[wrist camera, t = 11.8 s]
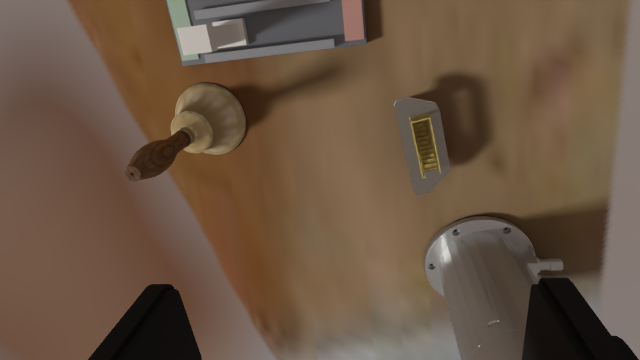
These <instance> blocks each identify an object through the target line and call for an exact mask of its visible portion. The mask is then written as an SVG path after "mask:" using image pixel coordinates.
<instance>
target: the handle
mask: <svg viewBox="0 0 640 360" xmlns="http://www.w3.org/2000/svg"><path fill="white" fill-rule="evenodd" d="M212 25H213V26H212ZM177 32H178V36H179V39H180V43H181V47H182V51H183V55H191V54H199V53H207V52H213V51H217V50H218V49H217V48H226V47H234V46H242V45H248V44H249V41H248V36H247V30H246V25H245V20H244V18H240V19H233V20H225V21H218V22H212V24H204V25H197V26H190V27H183V28H177Z"/></svg>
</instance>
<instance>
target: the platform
mask: <svg viewBox="0 0 640 360" xmlns="http://www.w3.org/2000/svg"><path fill="white" fill-rule="evenodd" d="M394 107H395V112H396V116H397V121H398V125H399V129H400V134H401V138H402V142H403V147H404V151H405V155H406V160H407V164H408V169H409V173H410V177H411V182H412V186H413V190H414V193H415V194H424V193H428V192H430V191H431V190H432V189H433V188H434V187H435V186H436V185H437V184H438V183H439V182H440V181H441V180H442V179H443V178H444V177H445V176H446V175H447V174H448V173H449V171H450V164H449V158H448V153H447V148H446V142H445V137H444V131H443V126H442V120H441V115H440V110H439V108H438V106H437V105H436V103H435V102H433V101H427V100H422V99H416V98H410V97H406V98H403V99H399V100H397V101H395V103H394ZM424 116H425V117H424ZM425 120H426V121H425ZM420 136H421V137H420ZM430 143H431V144H430ZM426 144H427V145H426ZM432 147H433V148H432ZM429 148H430V149H429ZM425 149H426V150H425ZM418 153H419V154H418ZM428 153H429V154H428ZM424 154H425V155H424ZM419 157H420V159H419ZM423 159H424V160H423ZM420 161H421V163H420ZM427 163H428V164H427ZM421 165H422V168H421Z"/></svg>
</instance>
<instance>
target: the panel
mask: <svg viewBox="0 0 640 360" xmlns="http://www.w3.org/2000/svg"><path fill="white" fill-rule="evenodd" d="M166 3H167V7H168V11H169V15H170V19H171V22H172V26H173V30H174V34H175V38H176V42H177V45H178V49H179V53H180V57H181V61H182V65H183V66H187V65H195V64H204V63H212V62H220V61H229V60H237V59H246V58H254V57H263V56H271V55H279V54H288V53H296V52H305V51H313V50H321V49H330V48H338V47H347V46H355V45H364V44H367V38H366V23H365V8H364V0H166ZM240 18H244V20H245V25H246V30H247V36H248V41H249V44H248V45H242V46H234V47H226V48H217V49H218V50H217V51H213V52H207V53H199V54H191V55H183V51H182V47H181V43H180V39H179V36H178V32H177V28H183V27H190V26H197V25H204V24H212V22H218V21H225V20H233V19H240ZM212 26H213V25H212Z"/></svg>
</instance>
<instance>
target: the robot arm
mask: <svg viewBox="0 0 640 360" xmlns="http://www.w3.org/2000/svg"><path fill="white" fill-rule="evenodd" d="M455 229H456V230H455ZM424 266H425V272H426V275H427V278H428V281H429V282H430V284H431V286H432V287H433V288H434V289H435V290H436V291H437V292H438V293H439V294H440V295H442V296H443V297H445V299H446V302H447V306H448V310H449V314H450V318H451V322H452V326H453V330H454V334H455V338H456V342H457V346H458V349H459V353H460V357H461V360H638V358H637V357H636V356H635V354H634V353H633V352H632V350H631V349H630V348H629V346H628V345H627V344H626V343H625V342H624V341H623V340H622V339H621V338H619V337H617V336H611V335H610V333H609V332H608V331H607V329H606V328H605V326H604V325H603V324H602V322H601V321H600V320H599V318H598V317H597V316H596V314H595V313H594V311H593V310H592V309H591V307H590V306H589V305H588V303H587V302H586V301H585V299H584V298H583V296H582V295H581V294H580V292H579V291H578V290H577V288H576V287H575V285H574V284H573V281H572V278H571V276H570V275H569V274H550V275H540V274H539V273H540V271H541V270H549V271H561V270H563V262H562V260H561V259H560V258H547V259H539V258H538V257H536V254H535V250H534V247H533V245H532V243H531V241H530V240H529V238H528V237H527V236H526V234H525V233H524V232H523V231H522V230H521V229H520V228H519V227H517V226H516V225H515V224H513V223H511V222H509V221H507V220H504V219H500V218H497V217H489V216H475V217H470V218H465V219H461V220H459V221H456V222H453V223H452V224H450V225H448V226H446V227H445V228H443V229H442V230H441V231H440V232H438V233H437V234H436V235H435V237H434V238H433V239H432V240H431V242H430V244H429V245H428V247H427V250H426V253H425V258H424ZM88 360H202V359H201V354H200V352H199V349H198V346H197V343H196V340H195V337H194V334H193V331H192V328H191V325H190V323H189V320H188V317H187V314H186V311H185V308H184V305H183V302H182V299H181V296H180V294H179V291H178V290H176V289H174V287H173V286H172V285H170V284H152V285H149V286H147V287H146V289H145V290H144V291H143V292H142V293H141V295H140V296H139V297H138V298H137V300H136V301H135V302H134V304H133V305H132V306H131V307H130V308H129V309H128V311H127V312H126V313H125V314H124V316H123V317H122V318H121V319H120V321H119V322H118V323H117V324H116V326H115V327H114V328H113V329H112V331H111V332H110V333H109V334H108V336H107V337H106V338H105V339H104V340H103V342H102V343H101V344H100V345H99V347H98V348H97V349H96V350H95V352H94V353H93V354H92V355H91V357H90V358H89V359H88Z"/></svg>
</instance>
